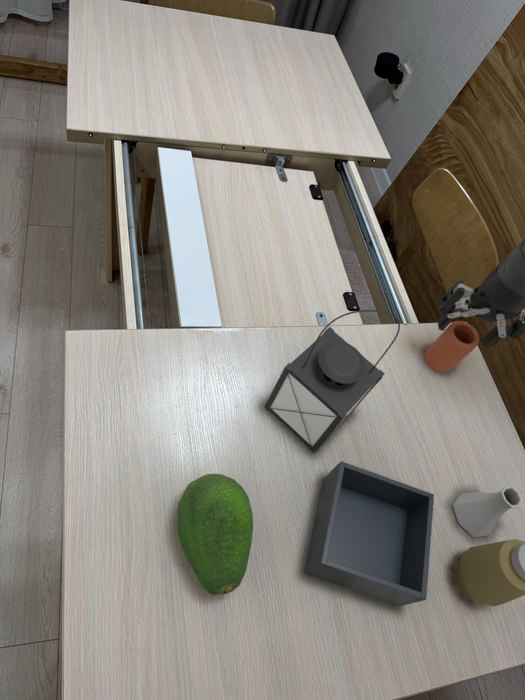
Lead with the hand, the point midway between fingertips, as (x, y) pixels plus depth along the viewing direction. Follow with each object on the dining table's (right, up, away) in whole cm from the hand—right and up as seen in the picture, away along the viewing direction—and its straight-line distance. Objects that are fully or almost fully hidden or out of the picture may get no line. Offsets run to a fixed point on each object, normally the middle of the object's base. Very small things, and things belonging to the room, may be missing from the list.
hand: (462, 334), depth 90 cm
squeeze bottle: (-4, -37, -14) cm, 40 cm away
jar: (-2, -5, +7) cm, 9 cm away
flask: (-2, -29, -8) cm, 30 cm away
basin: (-21, -31, -15) cm, 40 cm away
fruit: (-43, -29, -19) cm, 55 cm away
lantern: (-28, -13, -5) cm, 31 cm away
